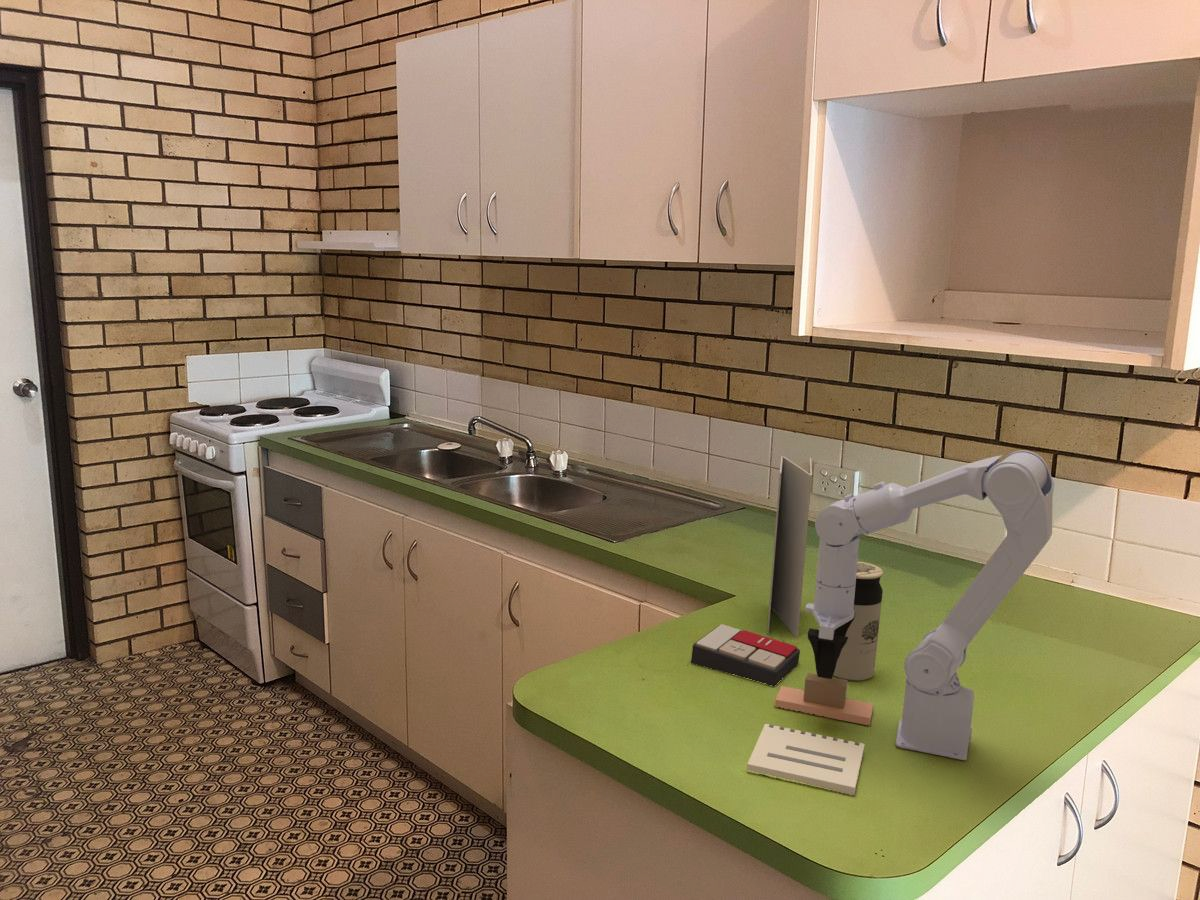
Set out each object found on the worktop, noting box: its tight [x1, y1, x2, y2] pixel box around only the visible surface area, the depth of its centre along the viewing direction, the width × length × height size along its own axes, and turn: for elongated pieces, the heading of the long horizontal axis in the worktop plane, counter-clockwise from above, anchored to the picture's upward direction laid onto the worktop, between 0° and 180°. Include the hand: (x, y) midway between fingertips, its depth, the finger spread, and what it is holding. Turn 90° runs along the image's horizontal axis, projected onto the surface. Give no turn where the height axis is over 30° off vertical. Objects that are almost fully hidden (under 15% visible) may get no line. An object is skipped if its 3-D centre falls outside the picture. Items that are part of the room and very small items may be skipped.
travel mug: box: [833, 561, 884, 682], centre depth 160 cm, size 8×8×18 cm
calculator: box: [690, 624, 801, 687], centre depth 163 cm, size 11×4×15 cm
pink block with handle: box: [774, 672, 874, 726], centre depth 148 cm, size 14×5×5 cm, turn 69°
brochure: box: [766, 455, 813, 638], centre depth 179 cm, size 14×6×30 cm, turn 168°
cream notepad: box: [746, 723, 866, 796], centre depth 133 cm, size 14×12×1 cm
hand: (828, 666), depth 147 cm, fingers open, 7 cm apart
